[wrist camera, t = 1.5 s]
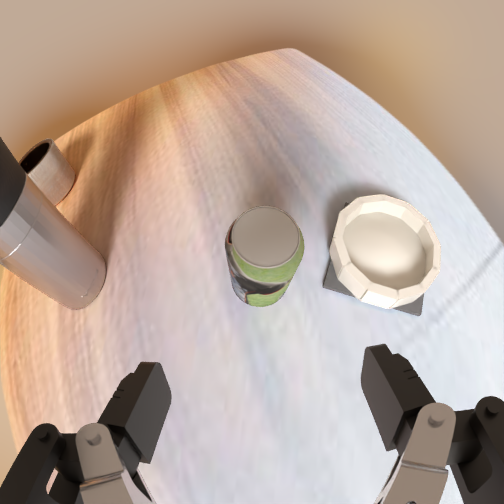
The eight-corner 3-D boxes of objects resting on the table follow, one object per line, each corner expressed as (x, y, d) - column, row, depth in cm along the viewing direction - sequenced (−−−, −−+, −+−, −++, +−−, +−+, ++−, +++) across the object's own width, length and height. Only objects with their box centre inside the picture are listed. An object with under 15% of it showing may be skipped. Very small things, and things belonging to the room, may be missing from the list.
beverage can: (254, 250, 33) (242, 178, 22) (308, 282, 30) (323, 217, 20) (221, 291, 30) (190, 232, 20) (276, 328, 28) (274, 285, 17)
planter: (83, 165, 46) (61, 131, 37) (65, 207, 40) (36, 173, 32) (48, 177, 46) (26, 147, 38) (30, 217, 41) (3, 188, 33)
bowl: (318, 288, 29) (321, 276, 26) (342, 198, 34) (346, 183, 32) (424, 319, 26) (436, 311, 23) (431, 227, 31) (440, 214, 28)
